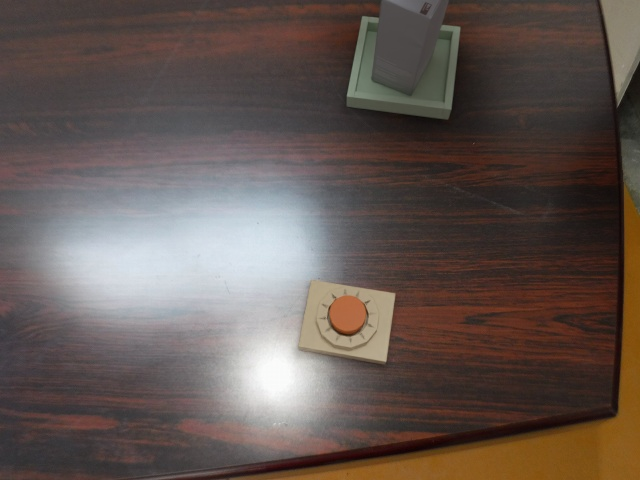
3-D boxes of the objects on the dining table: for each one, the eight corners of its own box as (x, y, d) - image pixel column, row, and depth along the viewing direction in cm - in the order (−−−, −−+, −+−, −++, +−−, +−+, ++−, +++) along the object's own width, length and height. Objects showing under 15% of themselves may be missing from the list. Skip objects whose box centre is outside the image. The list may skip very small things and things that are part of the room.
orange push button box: (394, 298, 64) (397, 288, 60) (384, 364, 61) (387, 359, 58) (312, 284, 65) (310, 274, 61) (299, 349, 62) (296, 343, 59)
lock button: (368, 302, 60) (368, 298, 59) (362, 337, 59) (363, 334, 57) (333, 296, 61) (332, 292, 59) (327, 331, 59) (326, 327, 58)
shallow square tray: (457, 38, 78) (460, 26, 75) (448, 119, 73) (451, 109, 71) (361, 28, 79) (362, 15, 77) (346, 106, 74) (346, 96, 72)
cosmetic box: (393, 39, 77) (405, -57, 63) (439, 56, 76) (462, -38, 61) (367, 82, 75) (374, -7, 60) (414, 101, 73) (433, 14, 59)
